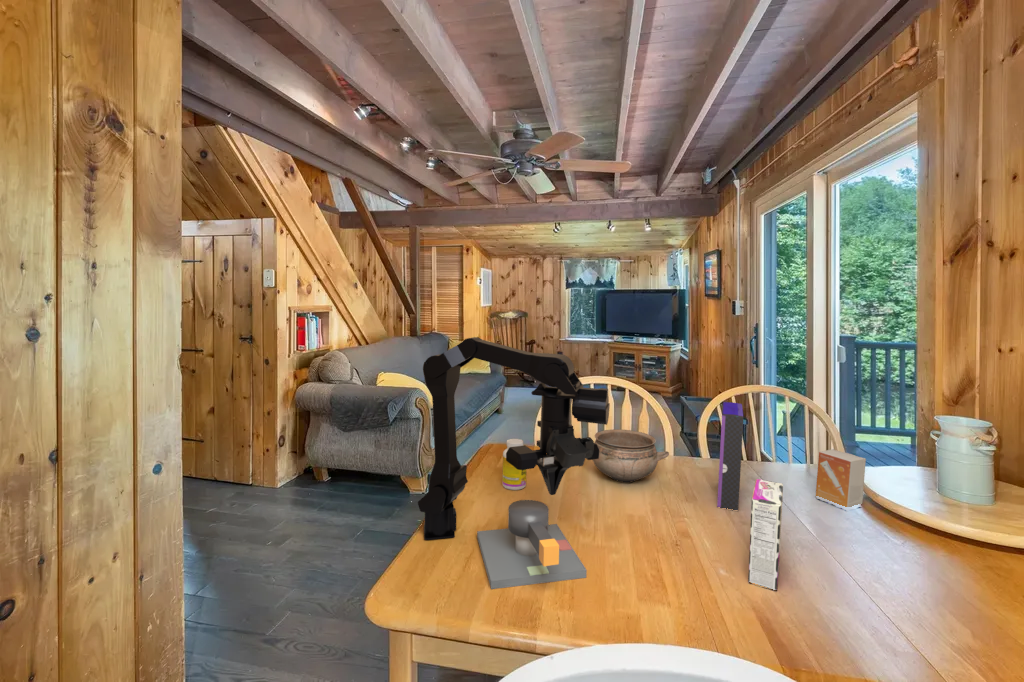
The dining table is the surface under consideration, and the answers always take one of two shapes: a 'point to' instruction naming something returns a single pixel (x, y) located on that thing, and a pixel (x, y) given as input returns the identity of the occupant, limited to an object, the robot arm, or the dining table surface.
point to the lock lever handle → (534, 528)
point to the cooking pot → (627, 454)
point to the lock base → (525, 559)
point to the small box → (840, 477)
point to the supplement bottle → (513, 470)
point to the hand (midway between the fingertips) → (552, 494)
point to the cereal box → (730, 456)
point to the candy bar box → (765, 533)
